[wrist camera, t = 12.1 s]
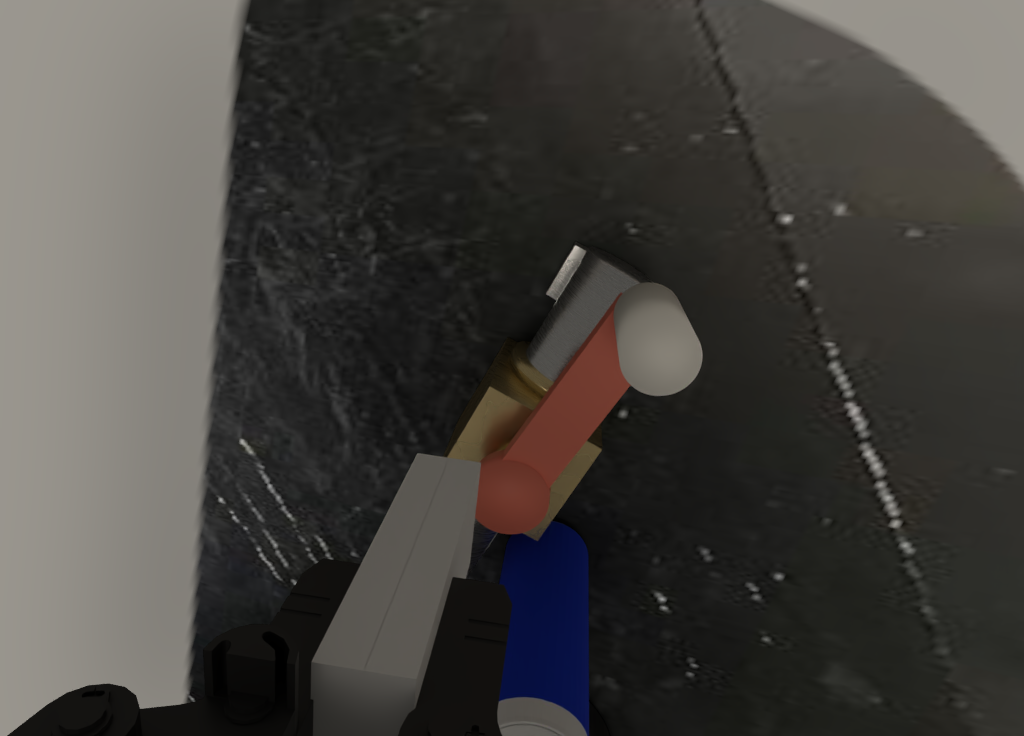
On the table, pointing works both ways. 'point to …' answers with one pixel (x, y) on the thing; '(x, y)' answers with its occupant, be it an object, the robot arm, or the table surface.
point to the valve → (541, 375)
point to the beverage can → (546, 635)
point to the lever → (588, 401)
